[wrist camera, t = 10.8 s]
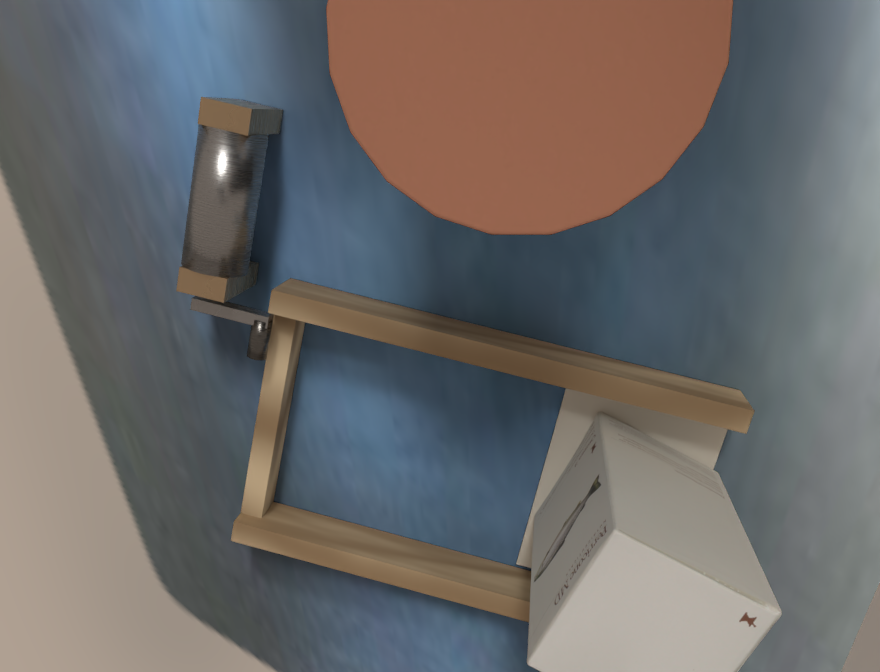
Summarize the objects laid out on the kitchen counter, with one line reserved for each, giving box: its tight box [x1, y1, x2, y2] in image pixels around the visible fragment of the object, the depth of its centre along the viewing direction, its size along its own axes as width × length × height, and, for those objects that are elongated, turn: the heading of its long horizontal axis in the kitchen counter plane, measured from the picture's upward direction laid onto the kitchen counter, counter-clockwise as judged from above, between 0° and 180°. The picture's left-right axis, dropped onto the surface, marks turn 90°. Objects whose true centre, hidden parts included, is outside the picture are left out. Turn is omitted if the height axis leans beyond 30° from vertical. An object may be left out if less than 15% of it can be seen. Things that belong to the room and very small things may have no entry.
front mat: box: [516, 388, 728, 568], centre depth 43 cm, size 11×8×1 cm
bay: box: [231, 278, 754, 622], centre depth 42 cm, size 14×24×3 cm, turn 77°
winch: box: [177, 97, 283, 360], centre depth 40 cm, size 12×5×5 cm, turn 167°
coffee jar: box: [326, 0, 733, 235], centre depth 29 cm, size 11×11×18 cm
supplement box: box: [527, 412, 782, 672], centre depth 37 cm, size 7×7×13 cm
